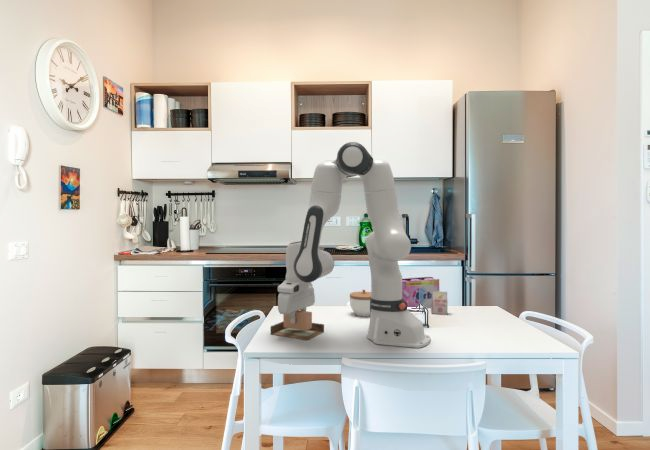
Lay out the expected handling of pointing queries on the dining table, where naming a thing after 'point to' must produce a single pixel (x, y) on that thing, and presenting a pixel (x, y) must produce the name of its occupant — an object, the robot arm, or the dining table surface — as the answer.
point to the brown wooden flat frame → (297, 331)
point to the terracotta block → (299, 320)
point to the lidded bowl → (360, 303)
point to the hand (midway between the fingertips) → (297, 321)
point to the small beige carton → (439, 303)
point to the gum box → (419, 290)
